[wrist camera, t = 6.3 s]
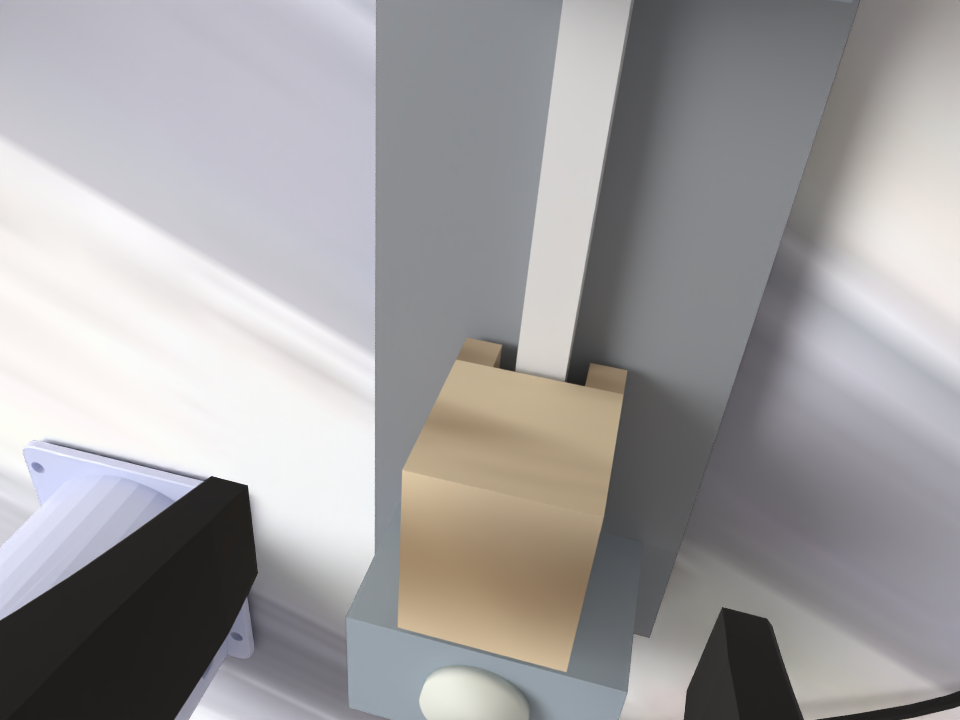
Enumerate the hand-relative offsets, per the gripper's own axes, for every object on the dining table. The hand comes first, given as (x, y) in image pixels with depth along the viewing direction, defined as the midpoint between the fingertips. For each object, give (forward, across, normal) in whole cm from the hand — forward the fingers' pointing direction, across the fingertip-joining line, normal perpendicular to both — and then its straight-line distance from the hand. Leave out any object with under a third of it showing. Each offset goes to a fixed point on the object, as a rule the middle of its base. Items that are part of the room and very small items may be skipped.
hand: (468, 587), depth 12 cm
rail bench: (+10, 0, 0) cm, 10 cm away
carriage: (+8, 0, +4) cm, 9 cm away
